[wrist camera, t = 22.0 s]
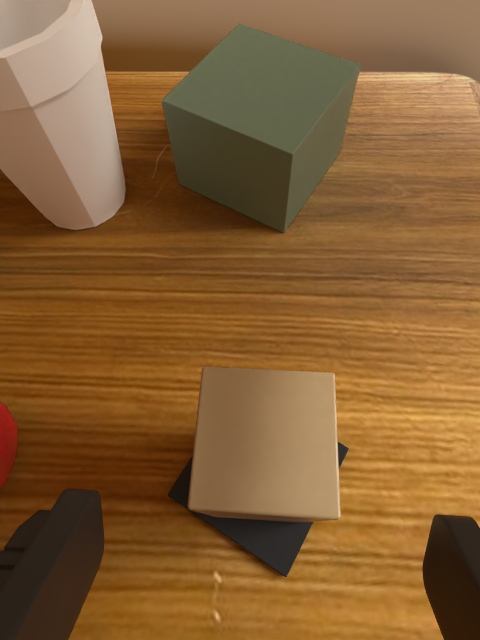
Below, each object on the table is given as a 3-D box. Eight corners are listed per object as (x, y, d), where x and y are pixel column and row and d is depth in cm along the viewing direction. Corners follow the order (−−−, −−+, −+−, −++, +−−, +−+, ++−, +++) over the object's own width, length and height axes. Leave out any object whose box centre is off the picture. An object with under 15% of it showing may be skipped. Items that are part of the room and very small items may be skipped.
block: (302, 431, 23) (335, 371, 14) (303, 522, 21) (341, 520, 12) (220, 427, 23) (202, 365, 14) (213, 516, 21) (186, 509, 12)
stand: (340, 152, 33) (361, 64, 27) (283, 233, 30) (293, 154, 23) (241, 113, 35) (239, 22, 29) (178, 184, 32) (160, 100, 26)
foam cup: (107, 133, 34) (34, -69, 23) (171, 202, 31) (123, 6, 19) (-2, 189, 32) (-147, -5, 20) (54, 270, 29) (-80, 94, 17)
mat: (347, 449, 23) (349, 448, 23) (285, 576, 21) (286, 577, 20) (238, 385, 25) (238, 383, 24) (168, 495, 22) (167, 495, 22)
